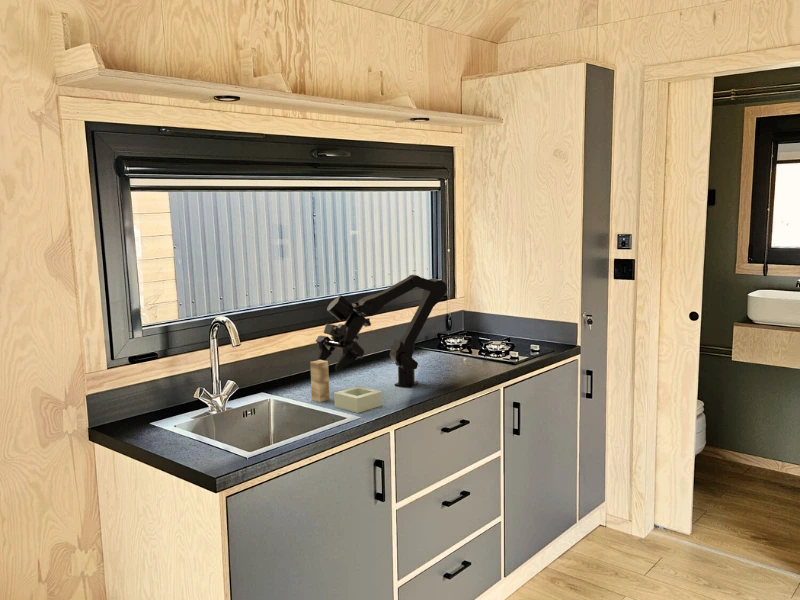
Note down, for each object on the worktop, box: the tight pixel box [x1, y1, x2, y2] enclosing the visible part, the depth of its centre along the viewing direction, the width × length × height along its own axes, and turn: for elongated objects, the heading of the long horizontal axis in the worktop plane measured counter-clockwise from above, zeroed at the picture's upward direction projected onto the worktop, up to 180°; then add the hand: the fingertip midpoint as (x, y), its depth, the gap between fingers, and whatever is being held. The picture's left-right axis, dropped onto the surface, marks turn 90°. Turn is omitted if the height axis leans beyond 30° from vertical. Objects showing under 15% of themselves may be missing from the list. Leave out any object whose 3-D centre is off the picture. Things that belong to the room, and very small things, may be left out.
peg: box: [309, 360, 330, 403], centre depth 230 cm, size 4×4×12 cm
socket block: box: [333, 385, 383, 414], centre depth 222 cm, size 10×10×4 cm
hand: (326, 367), depth 232 cm, fingers open, 9 cm apart
